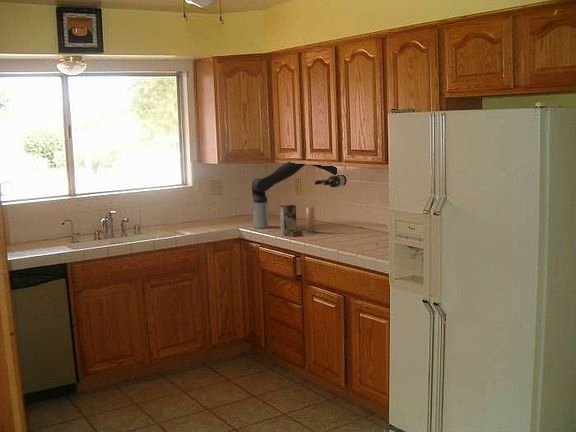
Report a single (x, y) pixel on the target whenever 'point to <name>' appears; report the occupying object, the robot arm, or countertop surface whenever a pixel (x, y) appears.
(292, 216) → the coffee box
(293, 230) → the collar
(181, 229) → the countertop surface
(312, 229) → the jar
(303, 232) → the mat
